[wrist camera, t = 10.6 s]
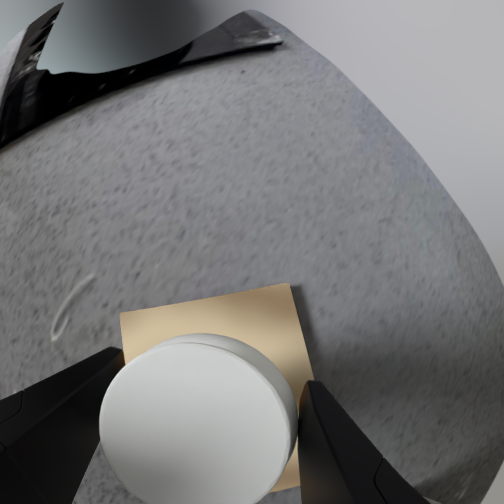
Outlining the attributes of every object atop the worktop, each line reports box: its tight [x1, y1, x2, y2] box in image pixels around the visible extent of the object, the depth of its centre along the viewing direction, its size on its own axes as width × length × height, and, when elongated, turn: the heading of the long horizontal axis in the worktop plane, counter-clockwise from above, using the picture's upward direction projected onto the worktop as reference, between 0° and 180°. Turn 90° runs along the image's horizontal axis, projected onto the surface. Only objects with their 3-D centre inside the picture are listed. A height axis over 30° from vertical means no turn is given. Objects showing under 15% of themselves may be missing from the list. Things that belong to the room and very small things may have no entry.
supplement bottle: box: [99, 333, 299, 504], centre depth 10 cm, size 5×5×10 cm
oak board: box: [120, 282, 314, 493], centre depth 19 cm, size 14×12×1 cm
